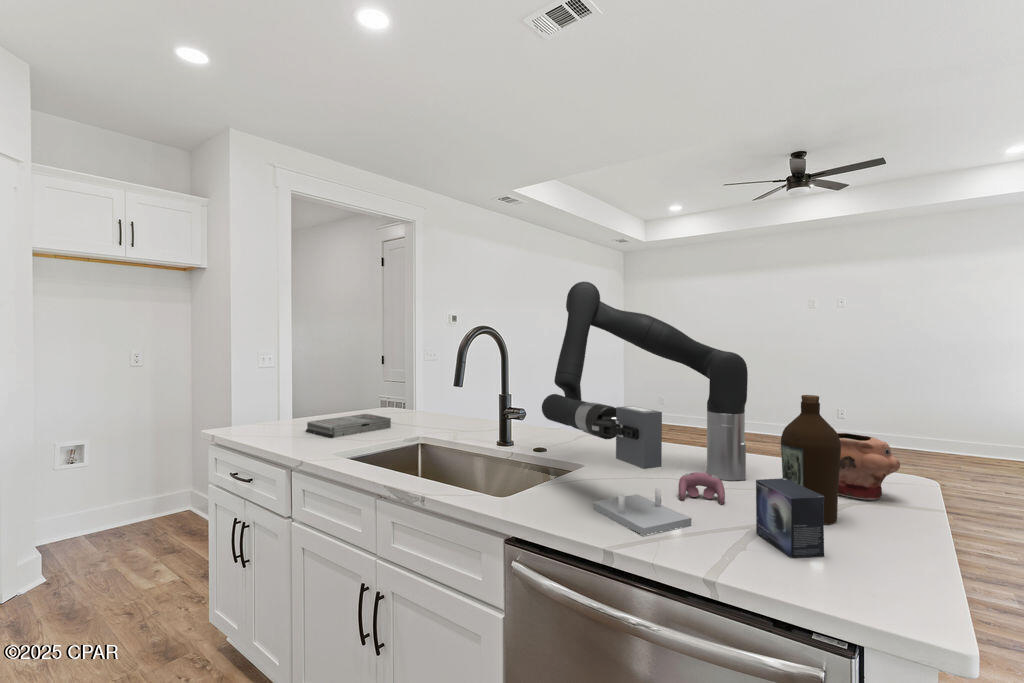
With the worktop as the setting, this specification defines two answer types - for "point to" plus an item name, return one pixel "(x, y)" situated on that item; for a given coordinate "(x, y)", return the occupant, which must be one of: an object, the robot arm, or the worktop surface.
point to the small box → (790, 517)
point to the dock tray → (642, 513)
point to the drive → (640, 437)
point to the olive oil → (813, 455)
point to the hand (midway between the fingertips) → (647, 433)
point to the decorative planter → (864, 466)
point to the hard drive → (348, 425)
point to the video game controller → (701, 479)
